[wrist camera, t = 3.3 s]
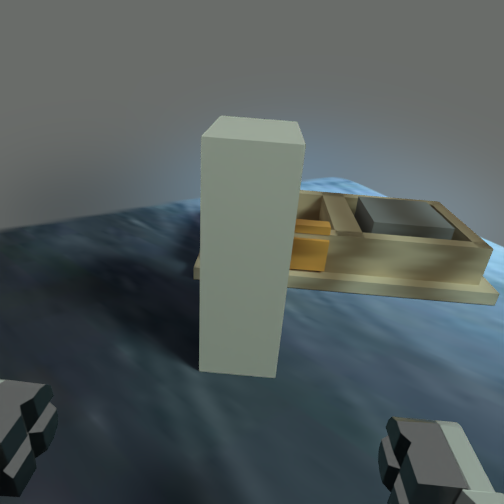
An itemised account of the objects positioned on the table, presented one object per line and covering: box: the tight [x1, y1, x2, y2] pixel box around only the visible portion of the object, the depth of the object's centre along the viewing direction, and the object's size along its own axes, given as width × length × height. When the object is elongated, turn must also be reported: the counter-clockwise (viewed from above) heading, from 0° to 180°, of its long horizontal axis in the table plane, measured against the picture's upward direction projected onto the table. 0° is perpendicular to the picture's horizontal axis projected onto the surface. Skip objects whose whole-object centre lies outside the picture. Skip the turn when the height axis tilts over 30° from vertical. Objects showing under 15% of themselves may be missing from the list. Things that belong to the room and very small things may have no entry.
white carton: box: [199, 116, 306, 378], centre depth 20 cm, size 4×6×12 cm
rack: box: [194, 190, 499, 305], centre depth 32 cm, size 22×12×5 cm, turn 87°
